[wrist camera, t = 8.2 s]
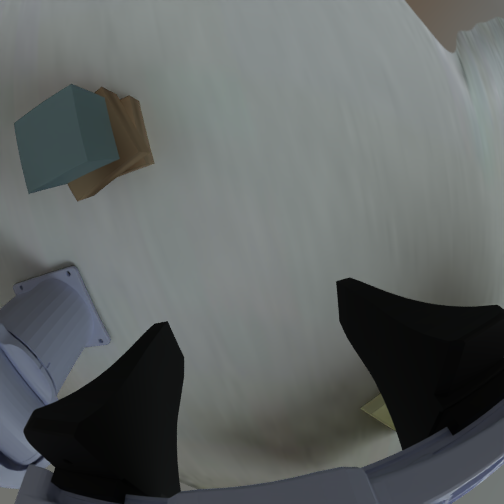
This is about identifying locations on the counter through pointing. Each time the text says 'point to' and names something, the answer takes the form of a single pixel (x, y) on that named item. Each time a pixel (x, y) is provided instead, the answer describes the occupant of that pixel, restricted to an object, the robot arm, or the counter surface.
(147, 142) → the bottom slab
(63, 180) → the cube
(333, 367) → the counter surface
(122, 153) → the top slab
